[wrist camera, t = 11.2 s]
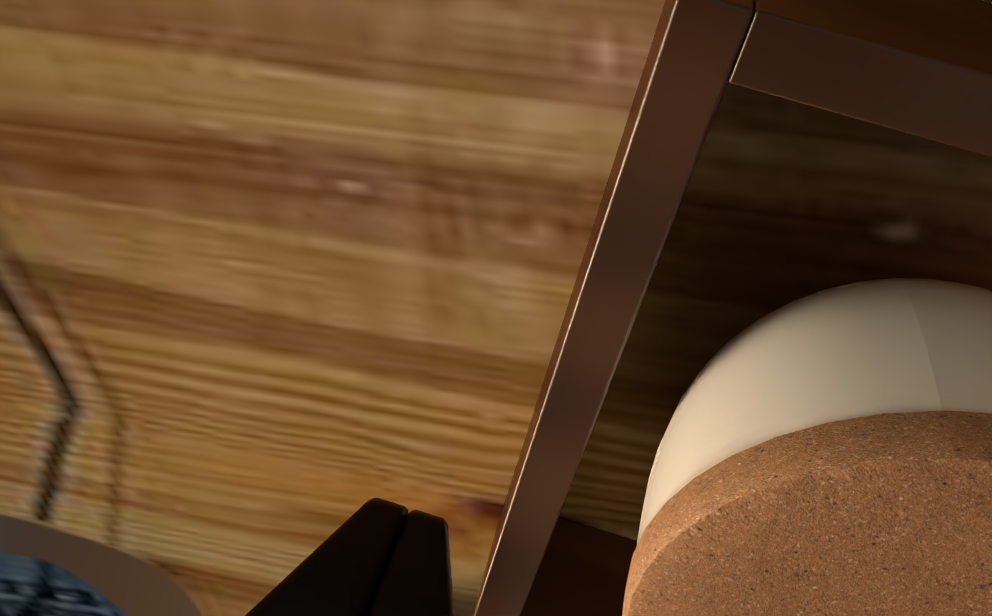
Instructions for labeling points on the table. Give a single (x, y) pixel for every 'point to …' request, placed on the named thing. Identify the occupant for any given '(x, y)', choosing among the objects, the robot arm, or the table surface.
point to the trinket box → (830, 464)
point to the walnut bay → (654, 204)
